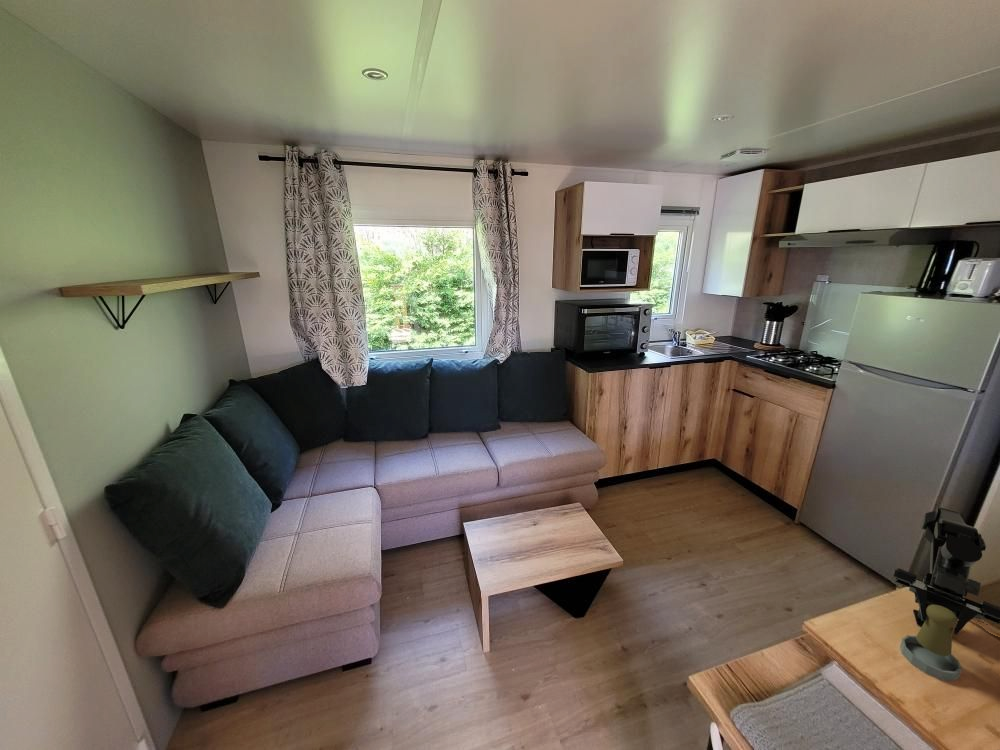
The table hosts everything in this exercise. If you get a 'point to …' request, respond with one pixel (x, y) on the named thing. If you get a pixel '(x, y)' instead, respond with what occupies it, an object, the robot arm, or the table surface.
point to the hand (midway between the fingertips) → (938, 627)
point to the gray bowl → (930, 660)
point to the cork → (938, 630)
